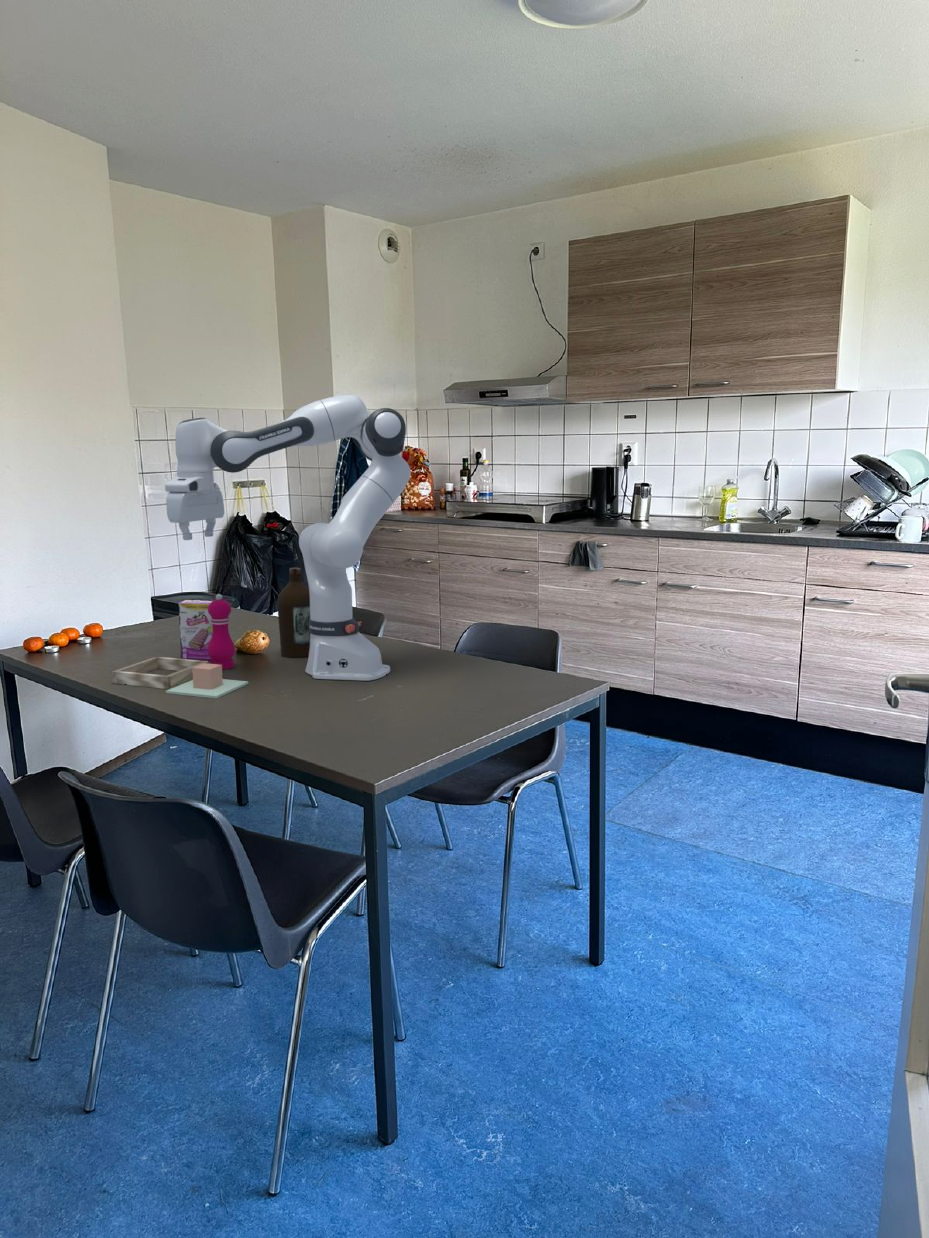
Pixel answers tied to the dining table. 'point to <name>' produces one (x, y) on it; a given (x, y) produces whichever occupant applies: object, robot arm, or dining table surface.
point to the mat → (209, 693)
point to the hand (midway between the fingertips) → (198, 538)
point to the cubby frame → (139, 678)
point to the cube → (207, 676)
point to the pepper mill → (220, 634)
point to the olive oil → (294, 617)
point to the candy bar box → (195, 629)
